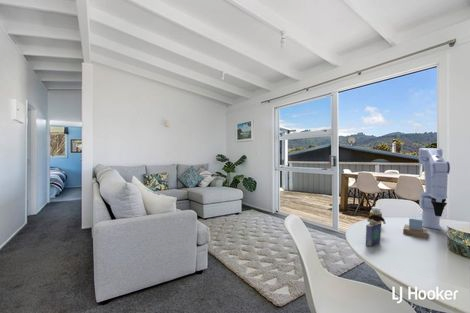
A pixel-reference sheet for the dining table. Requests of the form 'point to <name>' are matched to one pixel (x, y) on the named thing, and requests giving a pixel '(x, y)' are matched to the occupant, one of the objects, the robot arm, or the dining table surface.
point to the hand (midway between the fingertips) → (437, 214)
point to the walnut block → (415, 232)
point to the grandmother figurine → (376, 216)
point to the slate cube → (415, 223)
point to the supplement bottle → (373, 213)
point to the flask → (373, 233)
